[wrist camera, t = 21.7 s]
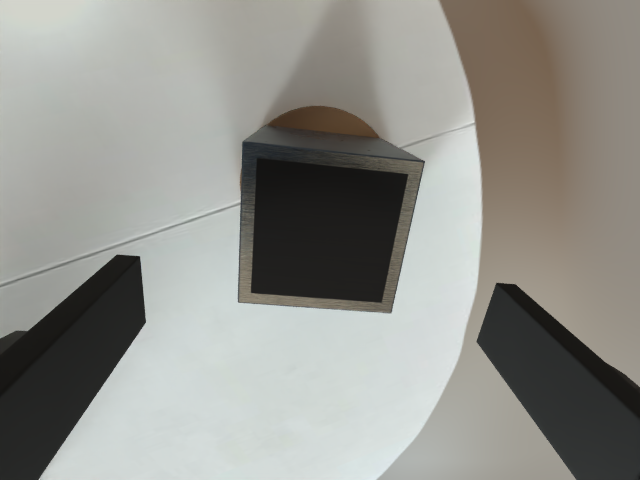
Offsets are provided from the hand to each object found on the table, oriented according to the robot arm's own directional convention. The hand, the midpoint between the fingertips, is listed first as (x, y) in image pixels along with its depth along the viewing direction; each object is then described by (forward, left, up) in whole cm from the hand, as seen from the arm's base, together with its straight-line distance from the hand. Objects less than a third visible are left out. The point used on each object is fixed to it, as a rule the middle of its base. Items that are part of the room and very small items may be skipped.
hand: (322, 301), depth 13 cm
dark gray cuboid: (+5, -3, -14) cm, 15 cm away
